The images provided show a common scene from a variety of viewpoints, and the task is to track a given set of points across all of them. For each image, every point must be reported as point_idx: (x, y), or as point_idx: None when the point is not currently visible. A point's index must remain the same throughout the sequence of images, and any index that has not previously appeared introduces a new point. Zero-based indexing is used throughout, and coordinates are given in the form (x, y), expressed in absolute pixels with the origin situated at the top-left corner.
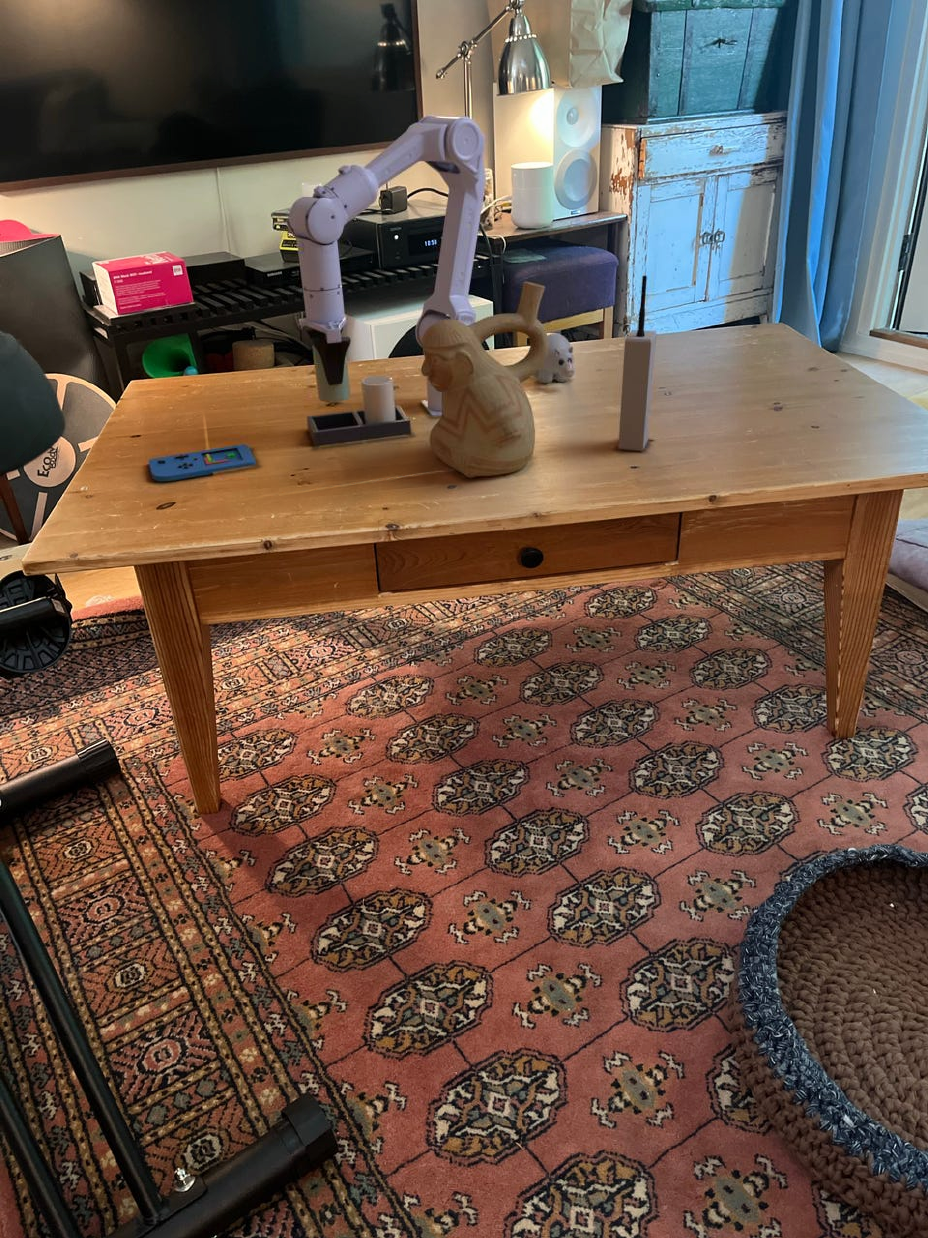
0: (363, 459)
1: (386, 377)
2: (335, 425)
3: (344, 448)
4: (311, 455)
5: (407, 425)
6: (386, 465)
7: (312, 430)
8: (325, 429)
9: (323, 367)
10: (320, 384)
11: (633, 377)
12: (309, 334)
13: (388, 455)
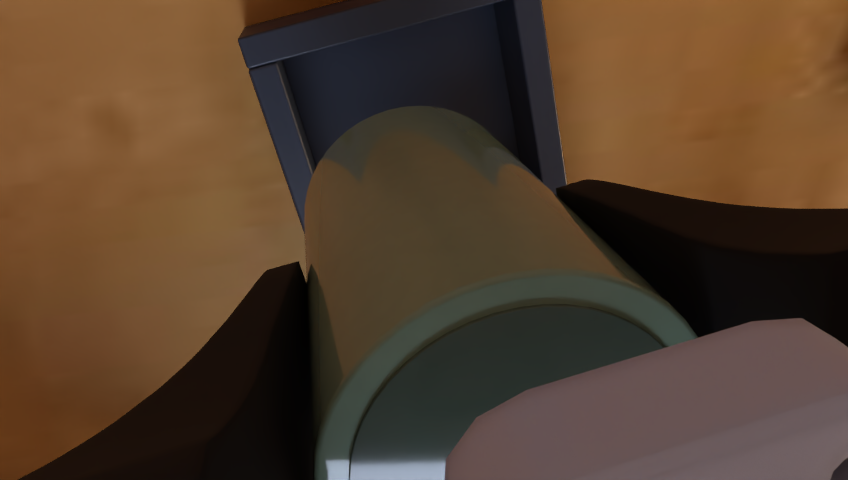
0: (108, 274)
1: None
2: (513, 111)
3: (254, 174)
4: (153, 12)
5: None
6: (40, 373)
7: (282, 26)
8: (489, 58)
9: (243, 324)
10: (340, 183)
11: None
12: (808, 270)
13: (163, 367)
